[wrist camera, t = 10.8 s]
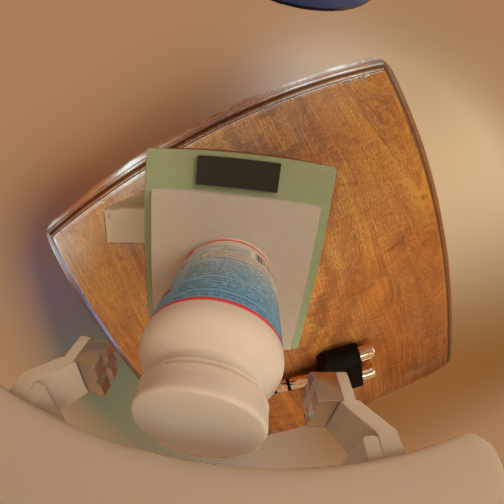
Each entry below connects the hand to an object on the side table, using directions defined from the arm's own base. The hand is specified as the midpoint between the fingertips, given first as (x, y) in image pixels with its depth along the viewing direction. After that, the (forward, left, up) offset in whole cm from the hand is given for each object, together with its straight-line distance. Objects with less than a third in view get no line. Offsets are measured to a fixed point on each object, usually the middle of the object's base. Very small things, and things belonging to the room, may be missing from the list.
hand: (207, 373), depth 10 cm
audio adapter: (+31, +17, -32) cm, 48 cm away
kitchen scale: (-1, 0, -11) cm, 11 cm away
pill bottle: (0, 0, -9) cm, 8 cm away
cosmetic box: (+1, -13, -32) cm, 35 cm away
